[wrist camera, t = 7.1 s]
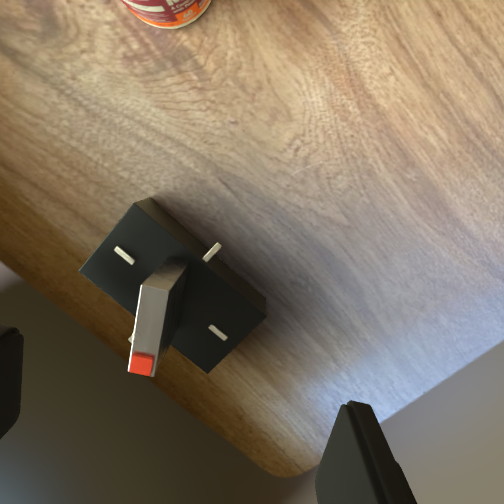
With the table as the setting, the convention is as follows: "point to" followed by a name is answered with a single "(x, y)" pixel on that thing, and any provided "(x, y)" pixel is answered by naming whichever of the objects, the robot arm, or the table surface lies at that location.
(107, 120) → the table surface
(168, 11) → the pill bottle
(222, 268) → the black stand
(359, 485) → the robot arm
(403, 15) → the table surface
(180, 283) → the tapered metal-edged block
